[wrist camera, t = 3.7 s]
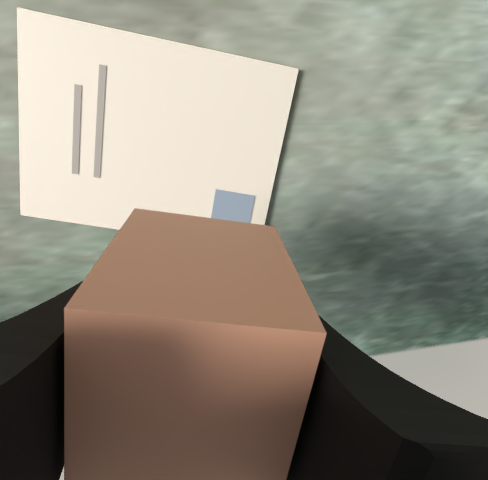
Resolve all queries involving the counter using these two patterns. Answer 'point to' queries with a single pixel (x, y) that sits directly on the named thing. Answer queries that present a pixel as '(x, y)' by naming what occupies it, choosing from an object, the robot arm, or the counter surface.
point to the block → (188, 354)
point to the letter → (143, 125)
